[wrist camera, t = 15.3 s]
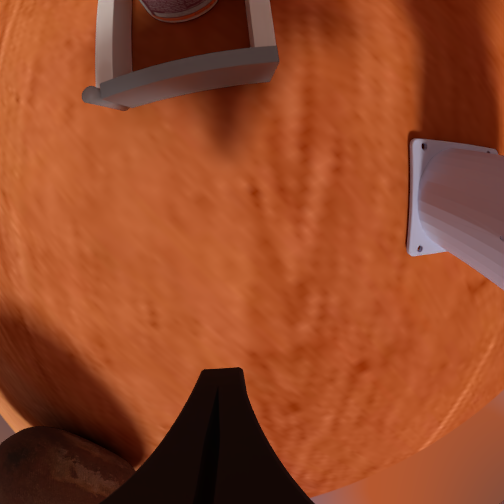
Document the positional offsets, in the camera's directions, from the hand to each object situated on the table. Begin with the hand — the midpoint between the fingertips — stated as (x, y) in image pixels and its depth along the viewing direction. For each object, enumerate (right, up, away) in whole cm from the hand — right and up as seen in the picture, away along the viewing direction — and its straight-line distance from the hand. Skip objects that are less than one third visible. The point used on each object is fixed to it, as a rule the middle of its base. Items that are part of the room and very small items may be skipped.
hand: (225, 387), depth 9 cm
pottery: (-22, -23, +18) cm, 37 cm away
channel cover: (-3, +14, +4) cm, 15 cm away
